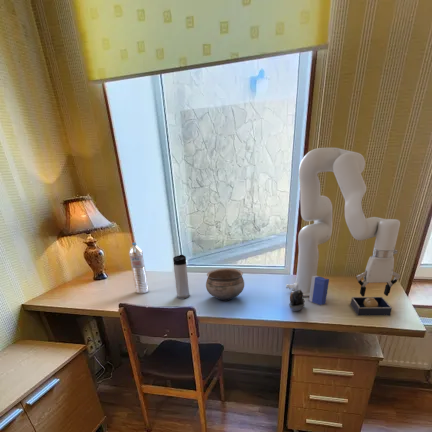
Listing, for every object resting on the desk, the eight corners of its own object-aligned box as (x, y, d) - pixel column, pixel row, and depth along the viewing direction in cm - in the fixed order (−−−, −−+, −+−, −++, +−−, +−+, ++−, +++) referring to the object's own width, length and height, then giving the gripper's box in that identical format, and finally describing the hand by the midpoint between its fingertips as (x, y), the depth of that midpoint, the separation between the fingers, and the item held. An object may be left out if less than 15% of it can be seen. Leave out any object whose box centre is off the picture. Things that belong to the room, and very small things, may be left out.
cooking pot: (235, 309, 154) (235, 283, 147) (198, 305, 160) (196, 280, 153) (250, 291, 173) (250, 267, 166) (216, 288, 179) (215, 265, 172)
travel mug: (191, 294, 172) (188, 254, 161) (186, 299, 167) (182, 258, 156) (180, 293, 174) (176, 254, 163) (175, 298, 169) (170, 257, 158)
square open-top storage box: (357, 316, 141) (359, 307, 139) (350, 305, 152) (351, 297, 150) (389, 316, 140) (392, 307, 138) (380, 304, 151) (382, 296, 149)
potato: (366, 313, 143) (368, 302, 140) (361, 306, 149) (363, 295, 147) (378, 313, 142) (380, 301, 140) (372, 306, 149) (375, 295, 146)
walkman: (325, 304, 154) (329, 278, 147) (321, 305, 153) (324, 279, 146) (313, 299, 160) (316, 274, 153) (308, 300, 159) (311, 275, 152)
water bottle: (151, 290, 181) (143, 241, 166) (144, 294, 176) (135, 244, 161) (141, 289, 183) (132, 241, 169) (133, 293, 178) (124, 244, 164)
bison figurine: (288, 303, 156) (290, 282, 150) (303, 304, 155) (306, 282, 149) (288, 313, 146) (290, 291, 141) (305, 314, 145) (307, 291, 140)
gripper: (402, 250, 135) (392, 291, 144) (358, 252, 136) (351, 292, 146) (409, 254, 128) (398, 297, 138) (363, 256, 130) (355, 298, 140)
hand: (374, 295), depth 142 cm, fingers open, 9 cm apart
